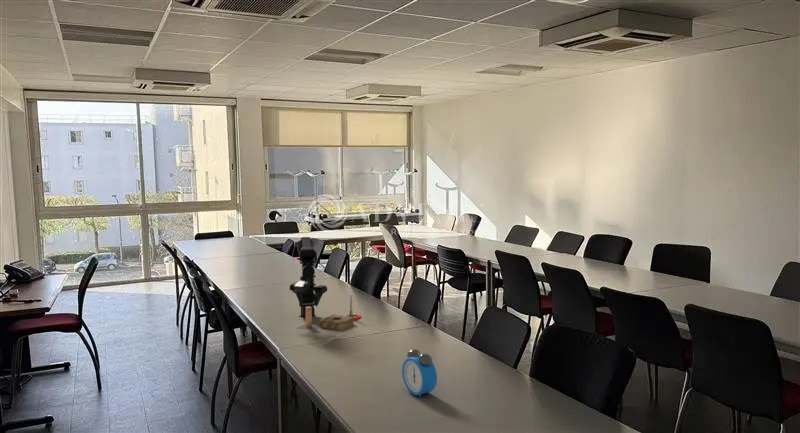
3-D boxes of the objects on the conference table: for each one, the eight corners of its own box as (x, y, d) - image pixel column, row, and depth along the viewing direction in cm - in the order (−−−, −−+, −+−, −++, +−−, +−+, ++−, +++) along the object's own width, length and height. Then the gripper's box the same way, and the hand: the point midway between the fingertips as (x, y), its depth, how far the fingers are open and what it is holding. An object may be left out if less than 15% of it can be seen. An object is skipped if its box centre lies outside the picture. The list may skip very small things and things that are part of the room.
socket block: (319, 328, 282) (319, 320, 282) (333, 322, 293) (333, 314, 293) (340, 331, 277) (340, 323, 277) (353, 324, 288) (353, 316, 287)
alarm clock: (401, 389, 206) (401, 348, 204) (415, 385, 209) (415, 345, 208) (423, 401, 195) (423, 358, 194) (438, 397, 199) (437, 354, 197)
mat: (295, 328, 281) (295, 328, 281) (305, 324, 289) (305, 324, 289) (312, 331, 277) (312, 330, 277) (322, 327, 284) (322, 326, 284)
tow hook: (347, 316, 306) (342, 320, 297) (347, 292, 305) (342, 295, 296) (362, 316, 305) (358, 320, 296) (362, 292, 304) (358, 295, 295)
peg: (304, 327, 282) (304, 307, 281) (308, 326, 285) (307, 306, 284) (309, 328, 281) (309, 308, 280) (313, 326, 283) (312, 306, 282)
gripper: (282, 275, 277) (283, 307, 279) (314, 278, 269) (315, 311, 271) (296, 271, 287) (296, 301, 289) (327, 274, 279) (328, 305, 280)
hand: (308, 305), depth 282 cm, fingers open, 9 cm apart
